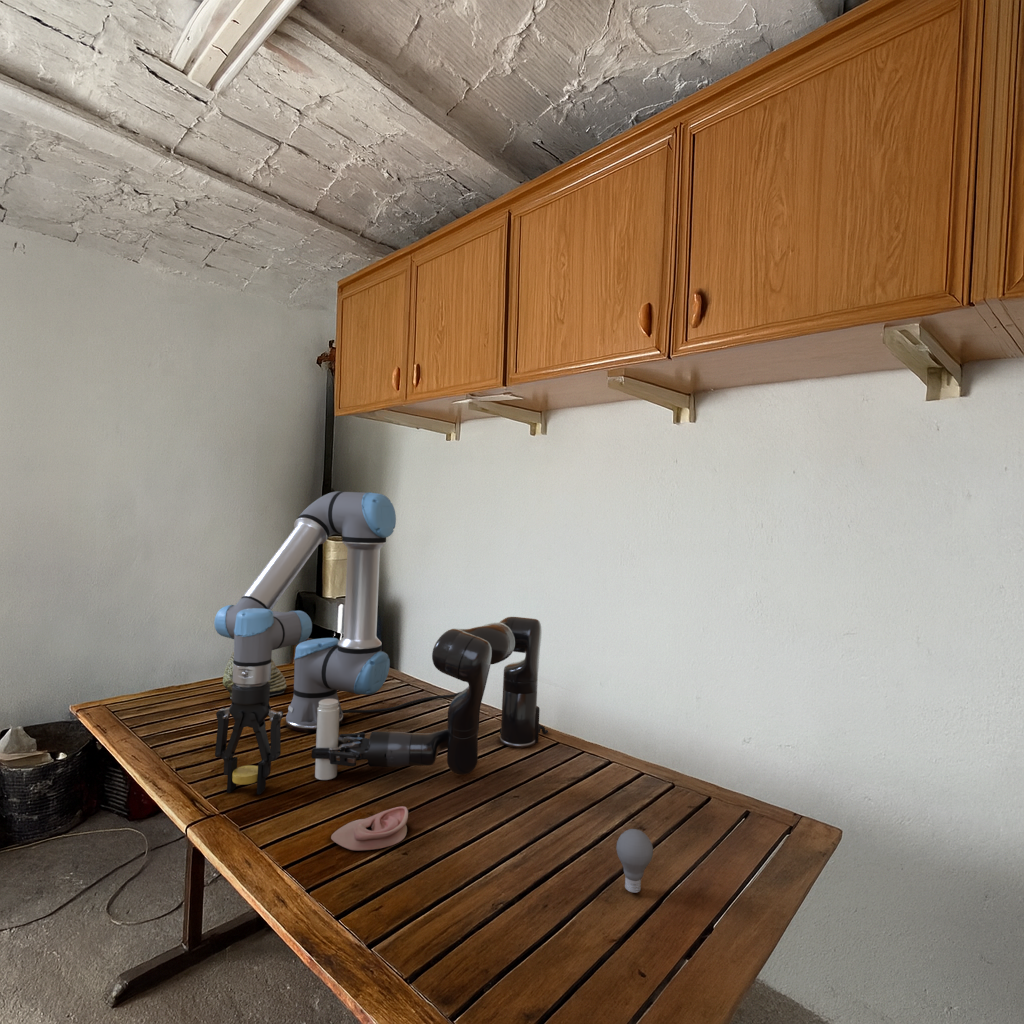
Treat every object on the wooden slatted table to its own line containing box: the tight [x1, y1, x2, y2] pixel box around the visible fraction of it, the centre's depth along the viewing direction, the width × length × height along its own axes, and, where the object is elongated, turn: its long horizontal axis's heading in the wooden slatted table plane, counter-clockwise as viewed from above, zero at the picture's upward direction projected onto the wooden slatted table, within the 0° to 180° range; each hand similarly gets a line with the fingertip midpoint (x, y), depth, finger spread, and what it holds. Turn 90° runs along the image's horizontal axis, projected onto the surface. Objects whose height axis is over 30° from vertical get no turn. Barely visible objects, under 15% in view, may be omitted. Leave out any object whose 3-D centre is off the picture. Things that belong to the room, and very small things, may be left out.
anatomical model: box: [330, 805, 409, 852], centre depth 119 cm, size 13×4×12 cm
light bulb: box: [615, 828, 654, 894], centre depth 106 cm, size 6×6×10 cm
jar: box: [314, 699, 340, 781], centre depth 144 cm, size 5×5×17 cm
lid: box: [232, 765, 258, 786], centre depth 135 cm, size 6×6×2 cm
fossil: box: [222, 651, 288, 699], centre depth 198 cm, size 9×18×15 cm, turn 132°
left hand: (246, 790), depth 135 cm, fingers closed on lid, 6 cm apart
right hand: (315, 748), depth 144 cm, fingers closed on jar, 5 cm apart
